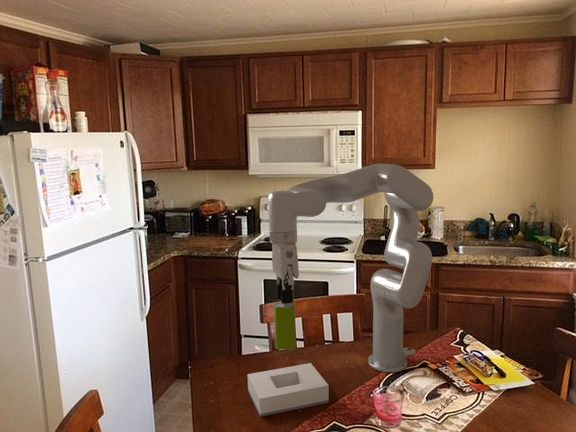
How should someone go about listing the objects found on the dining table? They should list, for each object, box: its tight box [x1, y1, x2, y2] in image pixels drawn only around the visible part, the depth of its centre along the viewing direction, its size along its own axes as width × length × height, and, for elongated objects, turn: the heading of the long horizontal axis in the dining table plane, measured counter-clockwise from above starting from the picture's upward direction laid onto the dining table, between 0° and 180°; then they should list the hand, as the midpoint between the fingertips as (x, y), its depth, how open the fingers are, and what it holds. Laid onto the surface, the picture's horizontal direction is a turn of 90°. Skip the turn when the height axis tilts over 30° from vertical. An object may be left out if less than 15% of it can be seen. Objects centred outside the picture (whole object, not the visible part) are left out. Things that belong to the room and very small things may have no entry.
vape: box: [273, 281, 297, 351], centre depth 135 cm, size 4×6×20 cm, turn 81°
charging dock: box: [247, 362, 330, 417], centre depth 139 cm, size 20×14×5 cm
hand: (285, 299), depth 134 cm, fingers closed on vape, 3 cm apart
